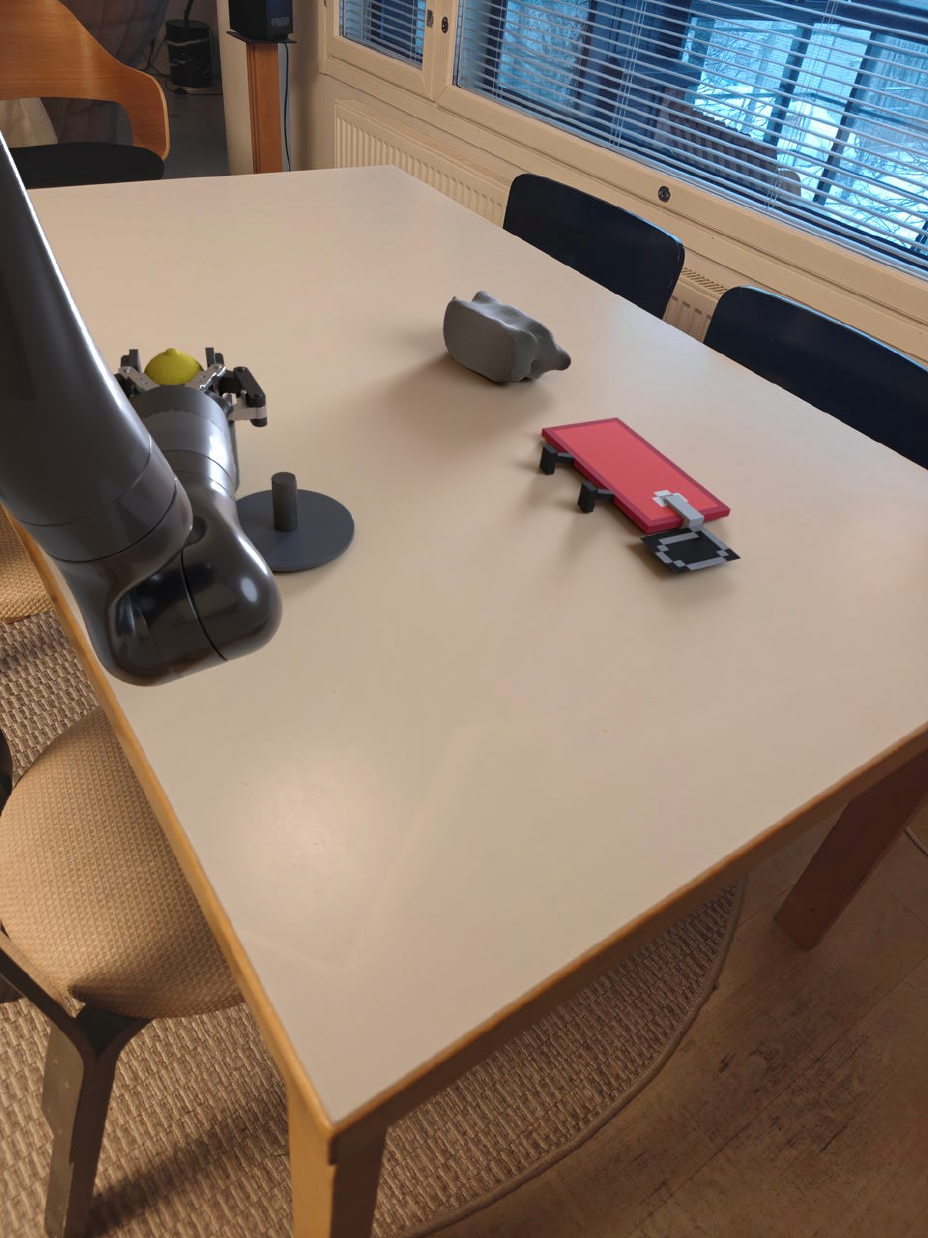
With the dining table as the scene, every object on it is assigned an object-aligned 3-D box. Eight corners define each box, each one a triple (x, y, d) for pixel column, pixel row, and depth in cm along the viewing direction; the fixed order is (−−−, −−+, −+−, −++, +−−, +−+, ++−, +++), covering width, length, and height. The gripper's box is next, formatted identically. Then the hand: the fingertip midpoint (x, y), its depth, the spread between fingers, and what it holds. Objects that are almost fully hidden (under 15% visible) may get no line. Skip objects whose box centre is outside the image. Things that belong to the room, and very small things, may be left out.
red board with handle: (659, 585, 85) (772, 557, 91) (666, 562, 83) (781, 535, 89) (514, 442, 105) (615, 427, 111) (517, 421, 103) (619, 407, 109)
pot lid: (193, 559, 82) (184, 501, 78) (249, 486, 92) (245, 432, 88) (329, 588, 81) (328, 530, 76) (371, 511, 91) (372, 456, 87)
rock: (577, 380, 120) (587, 324, 114) (518, 399, 114) (526, 341, 108) (489, 333, 129) (495, 279, 124) (431, 348, 123) (435, 293, 118)
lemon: (192, 459, 72) (181, 369, 67) (135, 443, 73) (120, 353, 68) (228, 431, 76) (220, 344, 71) (173, 416, 77) (161, 329, 72)
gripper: (280, 408, 60) (257, 313, 72) (56, 417, 56) (72, 316, 68) (284, 499, 65) (262, 396, 77) (79, 514, 61) (90, 403, 73)
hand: (173, 359), depth 72 cm, fingers closed on lemon, 5 cm apart
